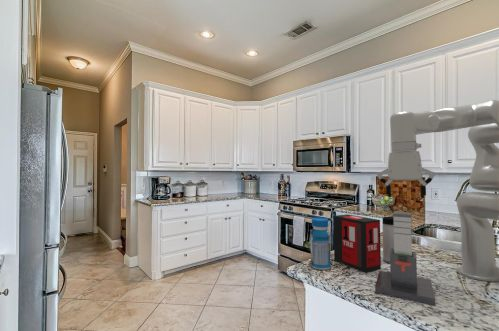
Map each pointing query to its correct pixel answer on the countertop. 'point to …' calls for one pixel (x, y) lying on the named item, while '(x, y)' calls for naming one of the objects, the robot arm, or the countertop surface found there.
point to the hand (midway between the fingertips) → (405, 197)
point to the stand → (405, 280)
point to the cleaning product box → (357, 242)
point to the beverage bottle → (320, 244)
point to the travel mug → (388, 237)
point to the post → (402, 233)
